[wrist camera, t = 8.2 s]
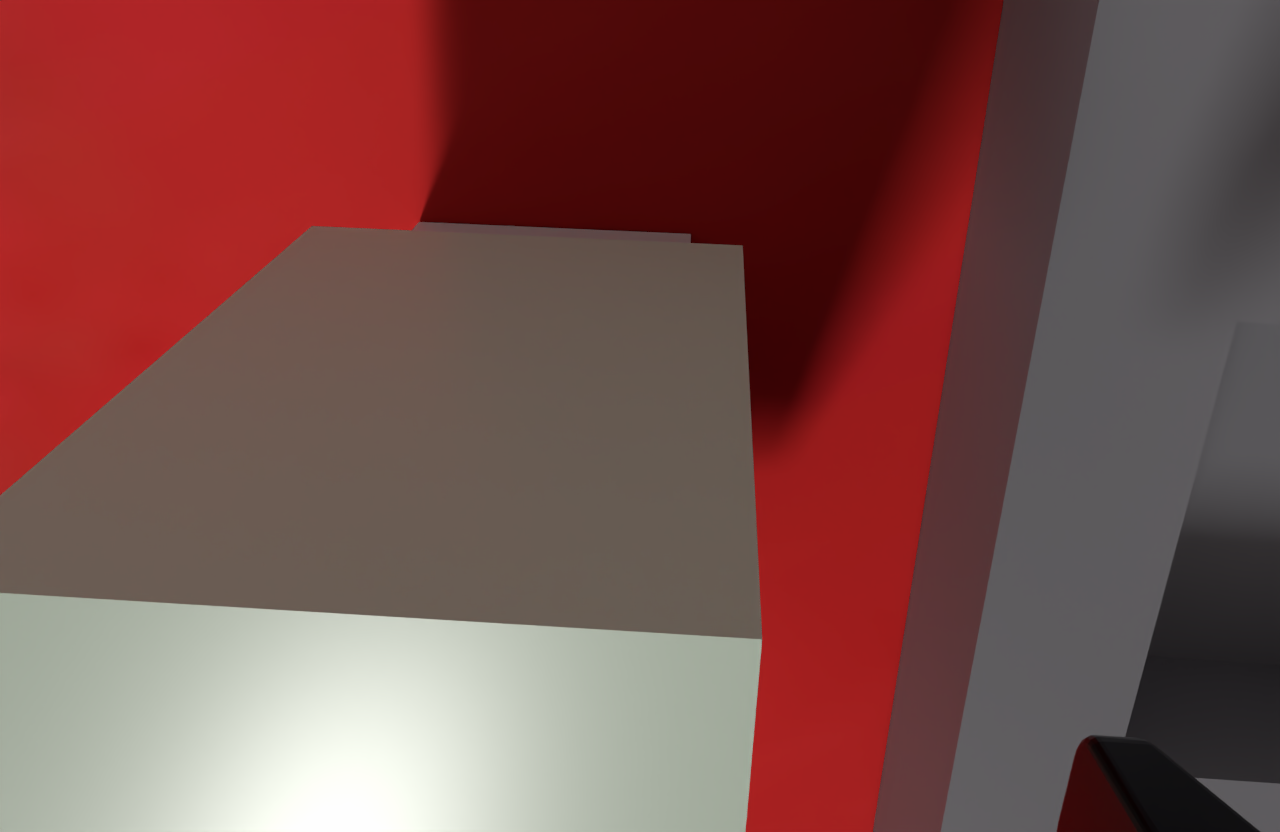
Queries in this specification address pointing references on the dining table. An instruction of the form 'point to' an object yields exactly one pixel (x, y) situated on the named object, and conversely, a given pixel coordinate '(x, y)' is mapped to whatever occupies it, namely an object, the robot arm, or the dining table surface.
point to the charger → (402, 552)
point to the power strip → (1105, 425)
